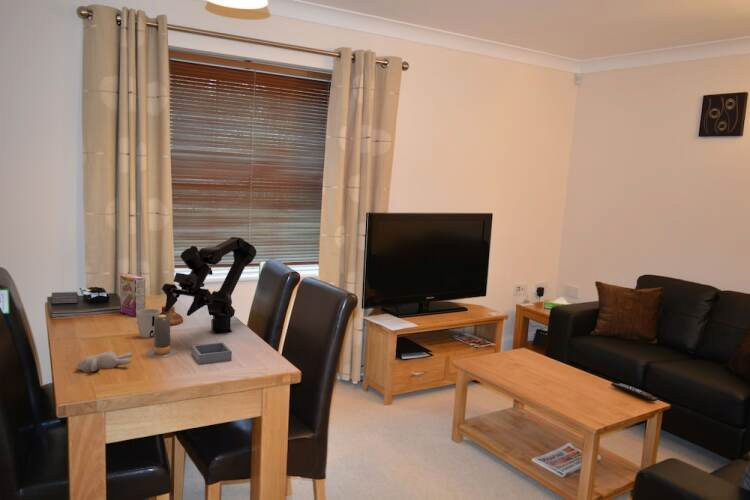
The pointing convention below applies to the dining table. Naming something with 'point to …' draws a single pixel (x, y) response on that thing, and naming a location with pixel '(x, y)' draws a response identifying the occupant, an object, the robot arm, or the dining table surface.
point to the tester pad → (151, 354)
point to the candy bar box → (132, 294)
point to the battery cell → (161, 335)
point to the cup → (146, 321)
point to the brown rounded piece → (172, 316)
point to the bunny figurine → (103, 361)
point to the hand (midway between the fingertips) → (176, 313)
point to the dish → (211, 353)
